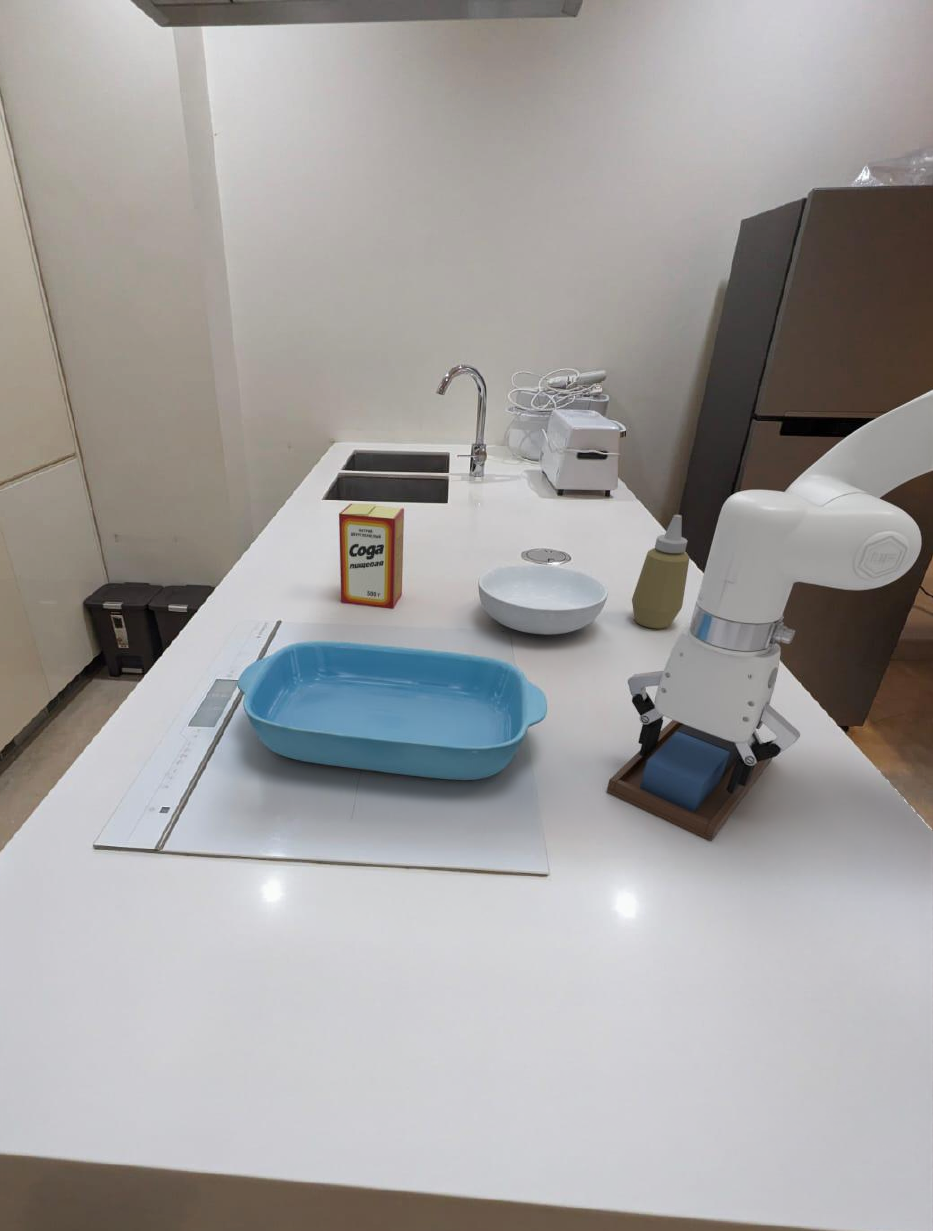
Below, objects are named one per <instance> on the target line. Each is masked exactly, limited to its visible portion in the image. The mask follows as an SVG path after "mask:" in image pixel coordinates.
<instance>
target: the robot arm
mask: <svg viewBox="0 0 933 1231" xmlns="http://www.w3.org/2000/svg"><path fill="white" fill-rule="evenodd" d="M930 472H933V389H932V390H929V391H927V392H925V393H923V394H921V395H920V396H918V397H915V398H914V399H912V400H910V401H908V402H906V403H904V404H902V405H900V406H898V407H896V408H894V409H892V410H890V411H888V412H886V413H884V414H882V415H880V416H878V417H876V418H875V419H873V420H871V421H869V422H867V423H866V424H864V425H862V426H861V427H859V428H858V429H856V430H854V431H852V433H850V434H848V435H847V436H846V437H845V438H843V439H842V440H840V441H839V442H838V443H836V444H835V445H834V446H833V447H832V448H831V449H830V450H828V451H827V452H826V453H824V454H823V455H822V456H821V457H820V458H819V459H818V460H817V461H815V462H814V463H813V464H811V466H809V467H808V468H807V469H806V470H805V471H804V472H802V473H801V474H800V475H799V476H798V477H797V478H796V479H795V480H794V481H792V483H791V484H790V485H789V486H788V487H787V489H786V490H784V491H780V490H773V489H746V490H741V491H737V492H735V493H733V494H732V495H730V496H729V497H727V499H726V500H725V501H724V503H723V504H722V507H721V508H720V509H721V510H720V512H719V515H718V519H717V523H716V526H715V531H714V534H713V539H712V541H711V546H710V550H709V554H708V557H707V561H706V565H705V568H704V572H703V575H702V580H701V584H700V588H699V591H698V595H697V598H696V601H695V605H694V609H693V613H692V616H691V620H690V622H687V623H686V624H685V625H684V626H683V627H682V629H681V631H680V632H679V634H678V636H677V638H676V640H675V643H674V644H673V647H672V649H671V652H670V654H669V656H668V658H667V661H666V664H665V665H664V669H663V670H659V671H650V672H642V673H635V674H633V675H631V676H630V677H629V678H628V679H627V685H628V688H629V692H630V695H631V697H632V698H631V703H632V704H633V706H634V709H635V710H636V711H637V713H638V714H639V722H640V723H641V724H642V726H641V729H640V733H639V738H638V741H637V742H638V744H640V750H639V751H640V753H639V755H641V756H643V757H644V756H647V755H648V754H649V753H650V752H651V751H652V750H653V749H654V748H655V747H656V746H657V743H658V739H659V735H660V731H661V730H662V729H663V723H664V719H663V717H665V718H666V719H670V720H671V721H672V720H674V721H677V722H679V723H682V724H685V725H687V726H690V727H692V728H695V729H698V730H700V731H703V732H706V733H708V734H711V735H714V736H716V737H719V738H722V739H725V740H728V741H731V742H734V743H735V745H736V747H737V749H738V751H739V753H740V755H741V757H740V758H739V759H738V760H737V762H736V764H735V767H734V769H733V772H732V775H731V778H730V781H729V784H728V787H727V791H728V792H729V793H731V794H733V793H734V792H735V791H736V790H737V788H738V787H739V786H740V785H742V786H744V787H745V786H746V785H747V784H748V782H749V780H750V778H751V775H752V772H753V770H754V767H755V764H756V762H760V761H763V760H766V759H769V758H772V759H773V758H776V757H778V756H779V754H781V753H783V752H784V751H786V750H788V748H790V747H791V746H793V745H794V744H795V743H796V742H797V741H798V740H799V738H800V737H801V732H800V731H799V730H798V729H797V728H796V727H795V726H794V725H792V724H791V722H789V721H788V720H787V719H786V718H785V717H783V715H782V714H780V713H779V712H778V711H776V709H774V708H773V707H772V706H771V705H770V704H771V702H772V701H771V700H772V697H773V693H774V690H775V687H776V682H777V678H778V672H779V668H780V661H781V652H782V651H781V646H780V644H781V643H783V644H786V645H787V644H788V645H790V644H791V643H792V642H793V639H794V637H795V635H796V634H795V633H796V630H795V629H792V628H788V626H786V625H785V622H783V621H784V618H785V617H784V612H785V609H786V606H787V604H788V600H789V598H790V596H791V592H792V589H793V586H794V585H795V583H804V584H811V585H815V586H816V585H817V586H821V587H827V588H833V589H836V590H837V589H839V590H845V591H866V590H872V589H877V588H882V587H884V586H886V585H889V584H891V583H893V582H895V581H897V580H899V579H900V578H901V577H902V576H904V575H905V574H906V573H907V572H909V570H910V569H911V568H912V567H913V566H914V564H915V563H916V562H917V560H918V557H919V555H920V552H921V549H922V535H921V530H920V528H919V525H918V524H917V522H916V521H915V520H914V519H913V517H912V516H910V515H909V514H908V513H907V512H906V511H904V510H903V509H902V508H900V507H899V506H897V505H894V504H893V503H890V502H888V501H886V500H884V499H881V498H882V497H883V496H885V495H886V494H888V493H889V492H891V491H892V490H894V489H897V487H900V486H901V485H902V484H905V483H907V482H908V481H910V480H912V479H915V478H918V477H919V476H922V475H925V474H927V473H930ZM656 686H657V689H656V693H655V696H654V702H653V700H652V698H651V697H650V695H649V693H648V692H647V691H646V690H647V689H646V688H647V687H656ZM763 725H764V726H766V727H767V728H768V729H769V730H770V731H771V732H773V734H775V736H776V738H774V739H772V740H771V739H770V740H768V741H766V742H763V741H762V740H761V737H760V736H759V734H758V732H757V730H760V729H761V727H762V726H763ZM762 742H763V743H762Z"/></svg>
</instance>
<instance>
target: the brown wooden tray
mask: <svg viewBox="0 0 933 1231" xmlns="http://www.w3.org/2000/svg"><path fill="white" fill-rule="evenodd" d="M683 725H684V724H682V723H679V722H677V721H674V720H672V719H671V721H670V722H669V723H668V724H667V725H665V726H664V727H662V728H661V731H660V735H659V739H658V743H657V746H656V747H655V748H654V749H653V750H652V751H651V752H650V753H649V754H648V755H647V756H644V757H643V756H641V755H639V753H640V750H639V751H638V752H637V753H636V754H635V755H634V756H633V757H632V758H631V759H629V761H627V762H626V763H625V764H624V765H623V766H622V767H621V768H619V770H617V771H616V773H614V775H612V776H611V777H610V778H609V781H608V784H607V788H606V793H608V794H610V795H612V796H614V797H616V798H619V799H620V800H623V801H624V802H627V803H629V804H631V805H633V806H636V807H637V808H639V809H641V810H644V811H646V812H648V813H651V814H652V815H655V816H657V817H659V818H661V819H663V820H665V821H666V822H669V823H671V824H674V825H676V826H678V827H680V828H681V829H683V830H686V831H688V832H690V833H693V835H694V834H695V835H697V836H699V837H701V838H703V839H704V840H707V841H710V842H712V840H714V838H715V837H716V835H717V834H718V832H719V831H720V830H721V828H722V827H723V826H724V824H725V823H726V822H727V820H728V819H729V818H730V816H731V815H732V814H733V812H734V811H735V809H736V808H737V807H738V806H739V804H740V803H741V802H742V800H743V799H744V798H745V796H746V795H747V794H748V793H749V791H750V790H751V788H752V787H753V786H754V784H755V783H756V782H757V780H758V779H759V777H760V776H761V775H762V773H763V772H764V771H765V769H767V767H768V766H769V764H770V763H771V761H773V758H769V759H766V760H763V761H760V762H756V764H755V767H754V770H753V772H752V775H751V778H750V780H749V782H748V784H747V785H746V786H745V787H744V786H742V785H740V786H739V787H738V788H737V790H736V791H735V792H734V793H733V794H731V793H729V792H728V791H727V787H728V784H729V781H730V778H731V775H732V772H733V769H734V767H735V764H736V762H737V761H736V762H735V763H734V764H733V766H732V767H731V768H730V769H729V770H728V772H727V773H726V774H725V775H724V777H723V778H722V779H721V780H720V782H719V783H718V784H717V785H716V787H715V788H714V789H713V790H712V791H711V793H710V794H709V795H708V796H707V798H706V799H705V800H704V801H703V802H702V804H701V805H700V806H699V807H698V809H697V810H696V811H695V812H694V813H692V812H690V811H688V810H685V809H683V808H681V807H679V806H677V805H674V804H672V803H670V802H668V801H666V800H663V799H661V798H659V797H657V796H655V795H652V794H650V793H648V792H646V791H644V790H641V789H640V785H641V782H642V778H643V774H644V771H645V767H646V763H647V761H648V760H649V759H650V758H651V757H652V756H653V755H654V754H655V753H656V752H657V751H658V750H659V749H660V748H661V747H662V746H663V745H664V744H665V743H666V742H667V741H668V740H669V739H670V738H671V737H672V736H673V735H674V734H675V733H676V732H677V731H678V730H679V729H680V728H681V727H682V726H683ZM761 742H762V743H764V742H763V741H761ZM740 757H741V756H740ZM740 757H739V758H740ZM739 758H738V759H739ZM738 759H737V760H738Z"/></svg>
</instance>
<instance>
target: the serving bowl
mask: <svg viewBox="0 0 933 1231" xmlns="http://www.w3.org/2000/svg"><path fill="white" fill-rule="evenodd" d="M477 585H478V595H479V599H480V602H481V605H482V607H483V608H484V610H485V612H486V613H487V614H488V615H489V616H490V617H491V618H492V619H494V620H495V621H497V622H498V623H499V624H501V625H502V626H505V627H507V628H509V629H512V630H514V631H519V632H523V633H528V634H535V635H561V634H566V633H567V634H568V633H572V632H575V631H577V630H580V629H582V628H585V627H587V626H588V625H590V624H591V623H593V621H594V620H595V619H596V618H598V616H599V614H601V612H602V610H603V608H604V607H605V605H606V603H607V599H608V597H609V590H608V587H607V586H606V585H605V583H603V581H601V580H599V579H598V578H596V577H595V576H592V575H590V574H588V573H585V572H582V571H579V570H575V569H572V568H568V567H563V566H557V565H551V564H550V565H548V564H539V563H538V564H536V563H519V564H518V563H517V564H516V563H515V564H508V565H501V566H498V567H494V568H491V569H488V570H486V571H485V572H483V573H482V574H481V575H480V577H479V578H478V583H477Z"/></svg>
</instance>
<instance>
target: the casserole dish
mask: <svg viewBox="0 0 933 1231" xmlns="http://www.w3.org/2000/svg"><path fill="white" fill-rule="evenodd" d="M237 688H238V690H239V692H240V693H242V694H243V695H244V696H243V700H242V705H243V706H242V707H243V710H244V713H245V714H246V716H247V718H248V720H249V722H250V724H251V726H252V728H253V730H254V732H255V734H256V735H257V737H258V738H259V740H260V741H261V743H262V744H263V745H264V746H265V747H267V748H268V749H269V750H271V751H272V752H274V753H275V754H278V755H280V756H283V757H285V758H289V759H293V760H297V761H301V762H305V763H313V764H320V765H327V766H333V767H340V768H341V767H342V768H349V769H357V770H365V771H373V772H374V771H375V772H381V773H388V774H395V775H403V776H412V777H421V778H429V779H440V780H442V779H443V780H456V781H457V780H458V781H477V780H483V779H486V778H489V777H492V776H494V775H497V774H498V773H500V772H501V771H503V770H504V769H505V768H506V767H507V766H508V765H509V764H510V762H511V761H512V759H513V758H514V756H515V754H516V753H517V751H518V749H519V747H520V745H521V743H522V741H523V740H524V738H525V737H526V734H527V731H528V729H529V728H530V727H533V726H534V725H537V724H540V723H541V722H542V721H543V720H545V718H546V716H547V713H548V702H547V697H546V694H545V693H544V692H543V690H542V689H541V688H540V687H539V686H536V685H535V684H534V683H532V682H530V680H528V678H527V676H526V674H525V673H524V671H522V670H521V669H520V668H519V667H517V666H516V665H514V664H512V663H510V662H507V661H504V660H502V659H497V658H493V657H489V656H482V655H475V654H468V653H463V652H462V653H460V652H451V651H442V650H432V649H423V648H413V647H412V648H411V647H402V646H393V645H391V646H390V645H381V644H372V643H371V644H370V643H362V642H361V643H360V642H349V641H347V642H346V641H334V640H308V641H307V640H306V641H300V642H299V641H298V642H295V643H291V644H289V645H286V646H284V647H281V648H280V649H278V650H276V651H275V652H274V653H273V654H270V655H268V656H266V657H263V658H259V660H256V661H254V662H252V663H251V664H249V665H248V666H247V667H246V668H245V669H244V670H243V671H242V672H241V674H240V675H239V677H238V679H237Z"/></svg>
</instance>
